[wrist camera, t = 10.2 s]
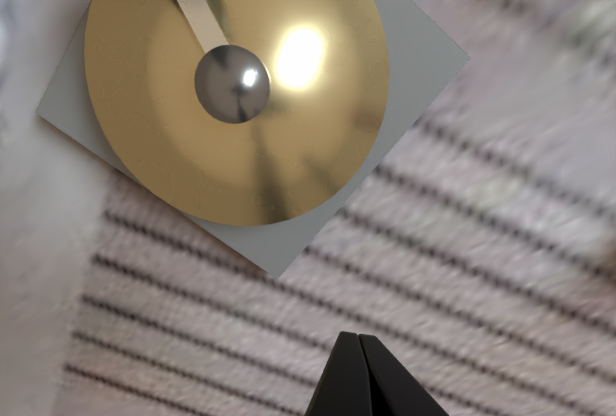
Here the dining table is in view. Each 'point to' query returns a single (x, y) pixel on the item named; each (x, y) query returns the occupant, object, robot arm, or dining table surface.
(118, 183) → the dining table surface
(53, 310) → the dining table surface
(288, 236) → the base plate
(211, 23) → the handwheel
